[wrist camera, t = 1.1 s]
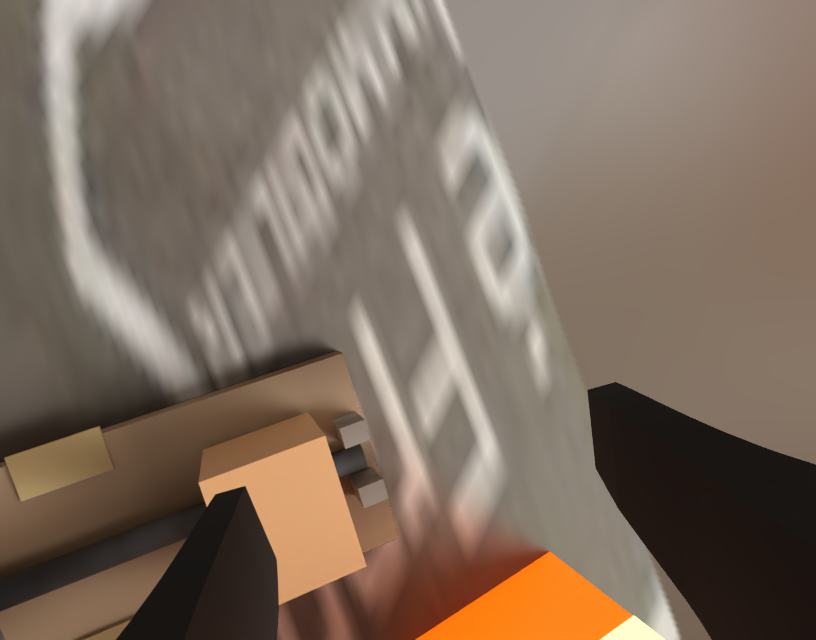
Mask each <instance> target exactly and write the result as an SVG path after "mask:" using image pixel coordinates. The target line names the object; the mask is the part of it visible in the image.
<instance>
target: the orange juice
mask: <svg viewBox="0 0 816 640" xmlns="http://www.w3.org/2000/svg"><path fill="white" fill-rule="evenodd" d="M416 640H665V639H664V638H663V637H661V636H660V635H659V634H658V633H656V632H655V631H654V630H652V629H651V628H650V627H648V626H647V625H646V624H645V623H643V622H642V621H641V620H639V619H638V618H637V617H636V616H634V615H633V616H632V615H631V614H629V613H628V612H627V611H625V610H624V609H623V608H622V607H620V606H619V605H618V604H616V603H615V602H614V601H613V600H611V599H610V598H609V597H607V596H606V595H605V594H604V593H602V592H601V591H600V590H598V589H597V588H596V587H595V586H593V585H592V584H591V583H589V582H588V581H587V580H586V579H584V578H583V577H582V576H580V575H579V574H578V573H577V572H575V571H574V570H573V569H572V568H570V567H569V566H568V565H566V564H565V563H564V562H563V561H561V560H560V559H559V558H557V557H556V556H555V555H554V554H552V553H551V552H548V553H547V554H545V555H544V556H542V557H541V558H539V559H538V560H536V561H535V562H533V563H532V564H530V565H528V566H527V567H525V568H524V569H522V570H521V571H519V572H518V573H516V574H515V575H513V576H512V577H510V578H509V579H507V580H506V581H504V582H503V583H501V584H500V585H498V586H497V587H495V588H493V589H492V590H490V591H489V592H487V593H486V594H484V595H483V596H481V597H480V598H478V599H477V600H475V601H474V602H472V603H471V604H469V605H468V606H466V607H465V608H463V609H462V610H460V611H458V612H457V613H455V614H454V615H452V616H451V617H449V618H448V619H446V620H445V621H443V622H442V623H440V624H439V625H437V626H436V627H434V628H433V629H431V630H430V631H428V632H427V633H425V634H423V635H422V636H420V637H419V638H417V639H416Z"/></svg>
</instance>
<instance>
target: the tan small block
mask: <svg viewBox="0 0 816 640" xmlns="http://www.w3.org/2000/svg"><path fill="white" fill-rule="evenodd" d="M198 483H199V486H200V489H201V492H202V494H203V497H204V500H205V503H206V506H208V505H209V503H210V502H211V500H212V499H213V497H214V496H215V494H218V493H222V492H225V491H229V490H232V489H236V488H239V487H243V486H246V489H247V491H248V493H249V496H250V498H251V500H252V503H253V505H254V507H255V510H256V512H257V514H258V517H259V519H260V521H261V524H262V526H263V528H264V531H265V533H266V535H267V538H268V540H269V542H270V545H271V547H272V549H273V552H274V554H275V556H276V559H277V572H278V595H279V605H280V604H282V603H285V602H287V601H289V600H292V599H294V598H296V597H298V596H301V595H303V594H305V593H307V592H310V591H312V590H314V589H316V588H319V587H321V586H323V585H325V584H328V583H330V582H332V581H334V580H337V579H339V578H341V577H344V576H346V575H348V574H350V573H353V572H355V571H357V570H359V569H362V568H364V567H366V562H365V559H364V556H363V553H362V550H361V547H360V544H359V540H358V537H357V534H356V531H355V528H354V525H353V521H352V518H351V515H350V512H349V509H348V506H347V502H346V499H345V496H344V493H343V490H342V487H341V484H340V480H339V477H338V474H337V471H336V468H335V465H334V461H333V458H332V455H331V452H330V449H329V446H328V443H327V439H326V436H325V435H324V433H323V432H322V430H321V429H320V428H319V426H318V425H317V424H316V422H315V421H314V420H313V418H312V417H311V416H310V414H309V413H308V412H307V413H304V414H302V415H299V416H296V417H293V418H290V419H288V420H285V421H282V422H279V423H276V424H274V425H271V426H268V427H265V428H262V429H259V430H257V431H254V432H251V433H248V434H245V435H243V436H240V437H237V438H234V439H231V440H229V441H226V442H223V443H220V444H217V445H215V446H212V447H209V448H206V449H203V453H202V461H201V468H200V475H199V482H198Z"/></svg>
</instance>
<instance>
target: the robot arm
mask: <svg viewBox="0 0 816 640" xmlns="http://www.w3.org/2000/svg"><path fill="white" fill-rule="evenodd" d="M588 399H589V409H590V418H591V428H592V437H593V447H594V456H595V466H596V469H597V471H598V473H599V475H600V477H601V478H602V480H603V482H604V484H605V486H606V488H607V489H608V491H609V493H610V495H611V496H612V498H613V500H614V502H615V503H616V505H617V507H618V509H619V510H620V511H621V513H622V514H623V516H624V517H625V518H626V520H627V521H628V523H629V524H630V525H631V527H632V528H633V529H634V531H635V532H636V533H637V535H638V536H639V538H640V539H641V540H642V542H643V543H644V544H645V546H646V547H647V548H648V550H649V551H650V552H651V554H652V555H653V556H654V558H655V559H656V560H657V562H658V563H659V564H660V566H661V567H662V568H663V570H664V571H665V572H666V574H667V575H668V576H669V578H670V579H671V580H672V582H673V583H674V584H675V586H676V587H677V589H678V590H679V591H680V593H681V594H682V595H683V596H684V598H685V599H686V601H687V602H688V604H689V605H690V607H691V608H692V609H693V611H694V612H695V614H696V615H697V617H698V618H699V620H700V621H701V623H702V624H703V626H704V627H705V629H706V631H707V633H708V634H709V636H710V637H711V639H712V640H816V465H815V464H812V463H809V462H806V461H802V460H800V459H796V458H793V457H790V456H787V455H784V454H781V453H778V452H775V451H772V450H769V449H767V448H764V447H761V446H758V445H756V444H753V443H751V442H748V441H746V440H743V439H741V438H738V437H736V436H733V435H730V434H728V433H725V432H723V431H721V430H718V429H716V428H713V427H711V426H709V425H707V424H704V423H702V422H700V421H698V420H696V419H693V418H691V417H689V416H687V415H684V414H682V413H680V412H678V411H676V410H674V409H671V408H670V407H668V406H665V405H663V404H661V403H659V402H657V401H655V400H653V399H651V398H649V397H647V396H645V395H643V394H640V393H638V392H636V391H634V390H632V389H630V388H628V387H626V386H623V385H621V384H619V383H616V382H614V383H611V384H608V385H604V386H600V387H597V388H593V389H589V390H588ZM278 614H279V595H278V572H277V559H276V556H275V554H274V552H273V549H272V547H271V545H270V542H269V540H268V538H267V535H266V533H265V531H264V528H263V526H262V524H261V521H260V519H259V517H258V514H257V512H256V510H255V507H254V505H253V503H252V500H251V498H250V496H249V493H248V491H247V489H246V486H243V487H239V488H236V489H232V490H229V491H225V492H222V493H218V494H215V496H214V497H213V499H212V500H211V502H210V503H209V505H208V506H207V508H206V509H205V511H204V513H203V514H202V516H201V517H200V519H199V520H198V522H197V524H196V525H195V527H194V528H193V530H192V531H191V533H190V535H189V536H188V538H187V539H186V541H185V542H184V544H183V546H182V547H181V549H180V550H179V552H178V553H177V555H176V556H175V558H174V559H173V561H172V562H171V564H170V565H169V567H168V569H167V570H166V572H165V573H164V575H163V576H162V578H161V579H160V580H159V582H158V583H157V585H156V586H155V587H154V589H153V590H152V591H151V593H150V594H149V596H148V597H147V598H146V600H145V601H144V603H143V604H142V605H141V607H140V608H139V609H138V611H137V612H136V614H135V615H134V616H133V618H132V619H131V621H130V622H129V623H128V625H127V626H126V627H125V628H124V630H123V631H122V632H121V634H120V635H119V636H118V637H117V639H116V640H277V627H278Z"/></svg>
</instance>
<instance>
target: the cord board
mask: <svg viewBox="0 0 816 640" xmlns="http://www.w3.org/2000/svg"><path fill="white" fill-rule="evenodd" d="M307 412H308V413H309V414H310V416H311V417H312V418H313V420H314V421H315V422H316V424H317V425H318V426H319V428H320V429H321V430H322V432H323V433H324V435H325V436H326V439H327V443H328V446H329V449H330V452H331V455H332V458H333V461H334V465H335V468H336V471H337V474H338V477H339V480H340V484H341V487H342V490H343V493H344V496H345V499H346V502H347V506H348V509H349V512H350V515H351V518H352V521H353V525H354V528H355V531H356V534H357V537H358V540H359V544H360V547H361V550H362V553H365V552H368V551H370V550H372V549H374V548H377V547H379V546H381V545H384V544H386V543H388V542H391V541H393V540H395V539H397V538H399V534H398V531H397V528H396V525H395V521H394V518H393V515H392V512H391V508H390V505H389V502H388V498H389V497H388V494H387V491H386V487H385V484H384V481H383V478H382V477H381V476H380V472H379V469H378V466H377V463H376V459H375V456H374V453H373V450H372V446H371V443H370V440H371V439H370V435H369V432H368V429H367V426H366V422H365V419H363V417H362V414H361V411H360V407H359V404H358V401H357V398H356V394H355V391H354V388H353V385H352V381H351V378H350V375H349V372H348V368H347V365H346V362H345V359H344V355H343V353H341V352H339V351H335V352H332V353H329V354H326V355H323V356H320V357H317V358H314V359H311V360H307V361H304V362H301V363H298V364H295V365H292V366H289V367H286V368H283V369H280V370H277V371H274V372H271V373H268V374H265V375H262V376H259V377H256V378H253V379H250V380H247V381H244V382H241V383H238V384H235V385H232V386H229V387H226V388H223V389H220V390H217V391H214V392H211V393H208V394H205V395H202V396H199V397H196V398H193V399H190V400H187V401H184V402H181V403H178V404H175V405H172V406H169V407H166V408H163V409H160V410H157V411H154V412H151V413H148V414H145V415H142V416H139V417H136V418H133V419H130V420H127V421H124V422H121V423H118V424H115V425H112V426H109V427H106V428H103V429H101V428H100V426H97V427H94V428H91V429H88V430H85V431H82V432H79V433H76V434H73V435H70V436H67V437H64V438H61V439H58V440H55V441H52V442H49V443H46V444H43V445H40V446H37V447H33V448H30V449H27V450H24V451H21V452H18V453H15V454H12V455H9V456H6V457H5V458H4V459H5V461H4V462H1V463H0V640H116V639H117V637H118V636H119V635H120V634H121V632H122V631H123V630H124V628H125V627H126V626H127V625H128V623H129V622H130V621H131V619H132V618H133V616H134V615H135V614H136V612H137V611H138V609H139V608H140V607H141V605H142V604H143V603H144V601H145V600H146V598H147V597H148V596H149V594H150V593H151V591H152V590H153V589H154V587H155V586H156V585H157V583H158V582H159V580H160V579H161V578H162V576H163V575H164V573H165V572H166V570H167V569H168V567H169V565H170V564H171V562H172V561H173V559H174V558H175V556H176V555H177V553H178V552H179V550H180V549H181V547H182V546H183V544H184V542H185V541H186V539H187V538H188V536H189V535H190V533H191V531H192V530H193V528H194V527H195V525H196V524H197V522H198V520H199V519H200V517H201V516H202V514H203V513H204V511H205V509H206V508H207V506H206V503H205V500H204V497H203V494H202V492H201V489H200V486H199V483H198V482H199V475H200V468H201V461H202V453H203V449H206V448H209V447H212V446H215V445H217V444H220V443H223V442H226V441H229V440H231V439H234V438H237V437H240V436H243V435H245V434H248V433H251V432H254V431H257V430H259V429H262V428H265V427H268V426H271V425H274V424H276V423H279V422H282V421H285V420H288V419H290V418H293V417H296V416H299V415H302V414H304V413H307Z"/></svg>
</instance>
